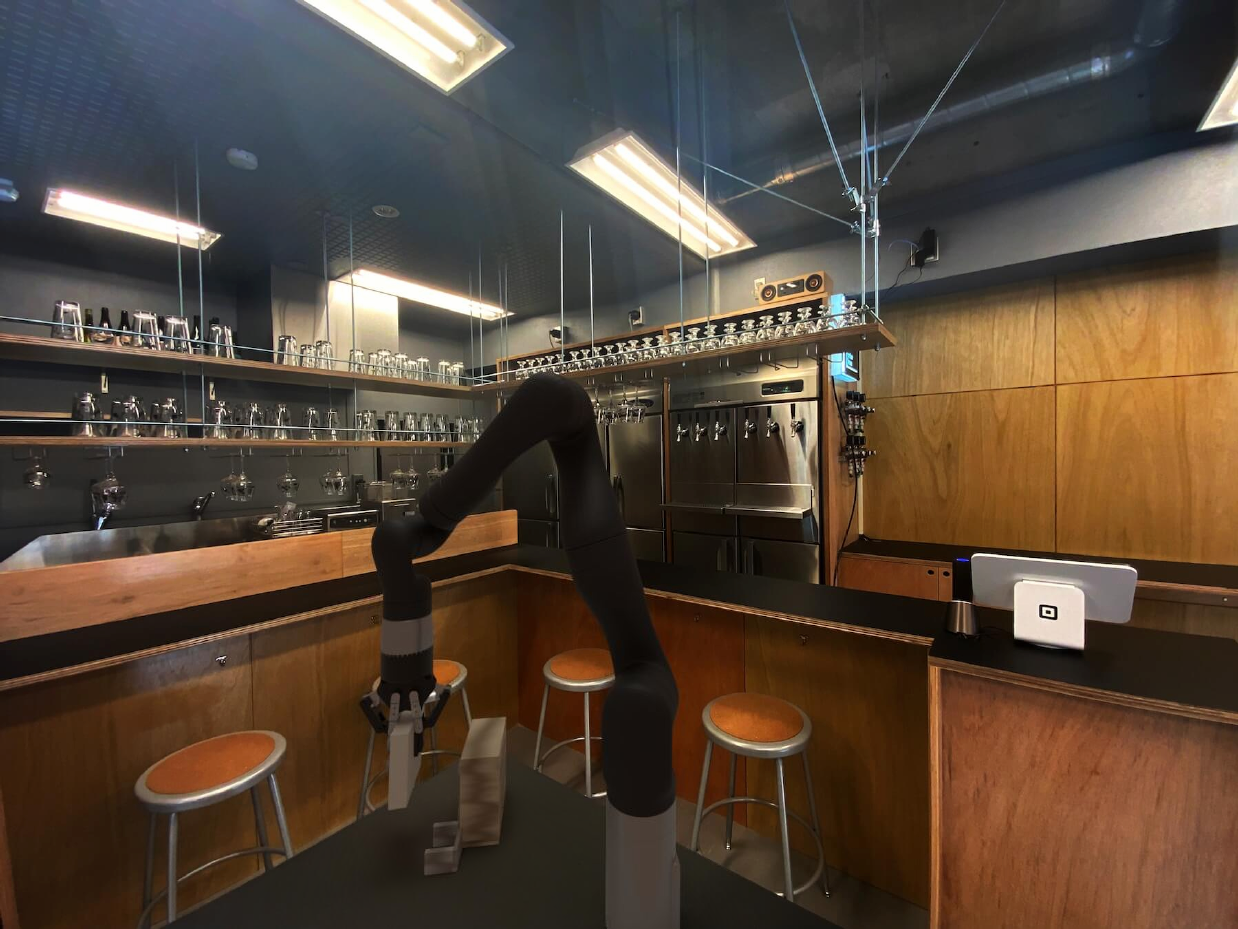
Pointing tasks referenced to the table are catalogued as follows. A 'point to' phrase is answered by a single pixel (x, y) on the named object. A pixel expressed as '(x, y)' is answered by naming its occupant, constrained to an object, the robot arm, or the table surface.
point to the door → (402, 762)
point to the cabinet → (474, 797)
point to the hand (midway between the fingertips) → (406, 754)
